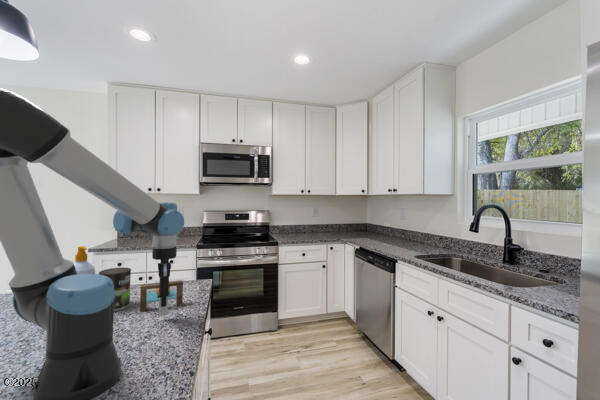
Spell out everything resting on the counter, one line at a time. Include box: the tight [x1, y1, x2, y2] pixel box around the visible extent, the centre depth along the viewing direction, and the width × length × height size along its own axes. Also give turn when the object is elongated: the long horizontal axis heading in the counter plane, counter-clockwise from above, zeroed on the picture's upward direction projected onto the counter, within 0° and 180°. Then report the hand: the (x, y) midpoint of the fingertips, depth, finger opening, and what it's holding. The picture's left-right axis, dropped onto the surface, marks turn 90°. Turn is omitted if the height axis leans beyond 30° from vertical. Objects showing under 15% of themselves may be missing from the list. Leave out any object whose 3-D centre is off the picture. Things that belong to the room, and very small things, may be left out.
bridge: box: [139, 279, 184, 313], centre depth 104 cm, size 3×14×9 cm, turn 119°
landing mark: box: [146, 288, 177, 303], centre depth 116 cm, size 12×12×1 cm
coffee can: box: [98, 267, 132, 312], centre depth 103 cm, size 10×10×14 cm
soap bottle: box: [73, 245, 96, 275], centre depth 99 cm, size 9×9×24 cm
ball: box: [155, 287, 171, 295], centre depth 115 cm, size 6×6×6 cm
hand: (163, 314), depth 93 cm, fingers closed
